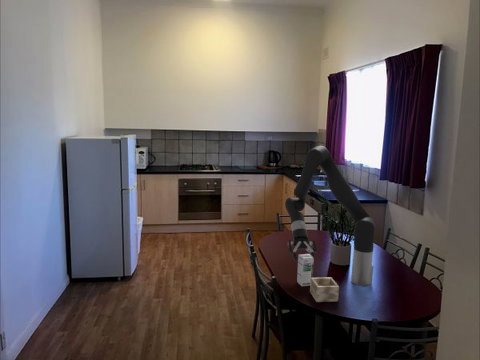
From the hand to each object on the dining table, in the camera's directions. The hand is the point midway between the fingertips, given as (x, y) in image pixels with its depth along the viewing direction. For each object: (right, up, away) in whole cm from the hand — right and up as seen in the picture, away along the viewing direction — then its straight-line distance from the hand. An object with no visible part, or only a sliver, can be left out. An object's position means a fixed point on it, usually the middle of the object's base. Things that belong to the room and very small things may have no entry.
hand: (304, 260), depth 192 cm
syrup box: (0, -11, -1) cm, 11 cm away
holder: (+7, -14, -14) cm, 21 cm away
